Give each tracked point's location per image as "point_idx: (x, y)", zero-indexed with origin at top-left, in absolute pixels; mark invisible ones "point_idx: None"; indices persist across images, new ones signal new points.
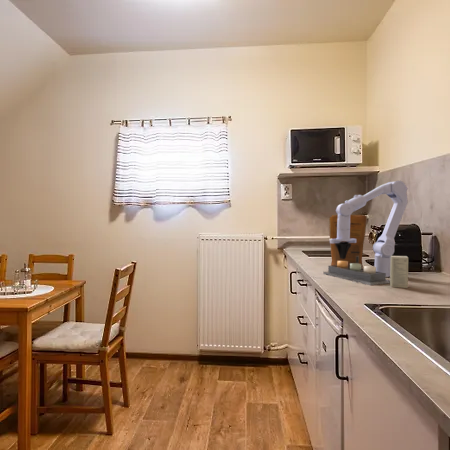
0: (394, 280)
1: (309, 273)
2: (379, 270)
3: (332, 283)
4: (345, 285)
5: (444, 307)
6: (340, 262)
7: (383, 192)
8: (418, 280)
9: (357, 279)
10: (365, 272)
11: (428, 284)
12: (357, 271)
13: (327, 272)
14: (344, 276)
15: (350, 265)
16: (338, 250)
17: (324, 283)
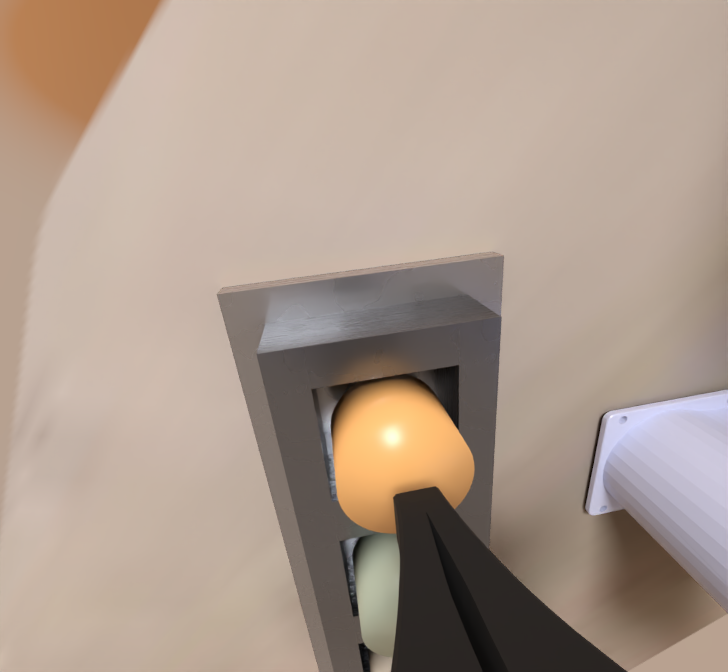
0: None
1: (47, 219)
2: (633, 511)
3: (102, 625)
4: (165, 664)
5: None
6: (346, 508)
7: None
8: (673, 578)
9: (310, 613)
10: (370, 669)
11: (611, 644)
12: (338, 645)
13: (239, 347)
14: (287, 528)
15: (360, 606)
16: (398, 635)
17: (37, 624)
